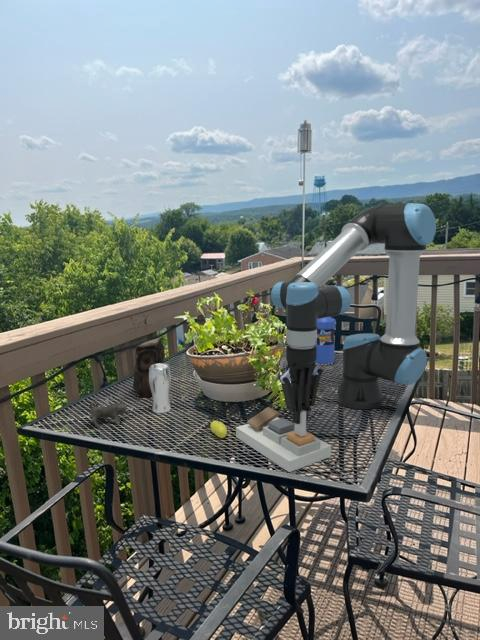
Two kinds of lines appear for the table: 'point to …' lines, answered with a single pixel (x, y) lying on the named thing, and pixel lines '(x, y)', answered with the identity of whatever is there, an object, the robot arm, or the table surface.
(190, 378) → the table surface
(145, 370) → the dark brown speaker
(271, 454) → the switch housing
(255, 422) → the walnut rocker
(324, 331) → the water bottle
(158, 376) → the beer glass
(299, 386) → the robot arm
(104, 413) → the dog figurine
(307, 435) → the orange button
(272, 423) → the charcoal button
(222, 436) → the lemon
